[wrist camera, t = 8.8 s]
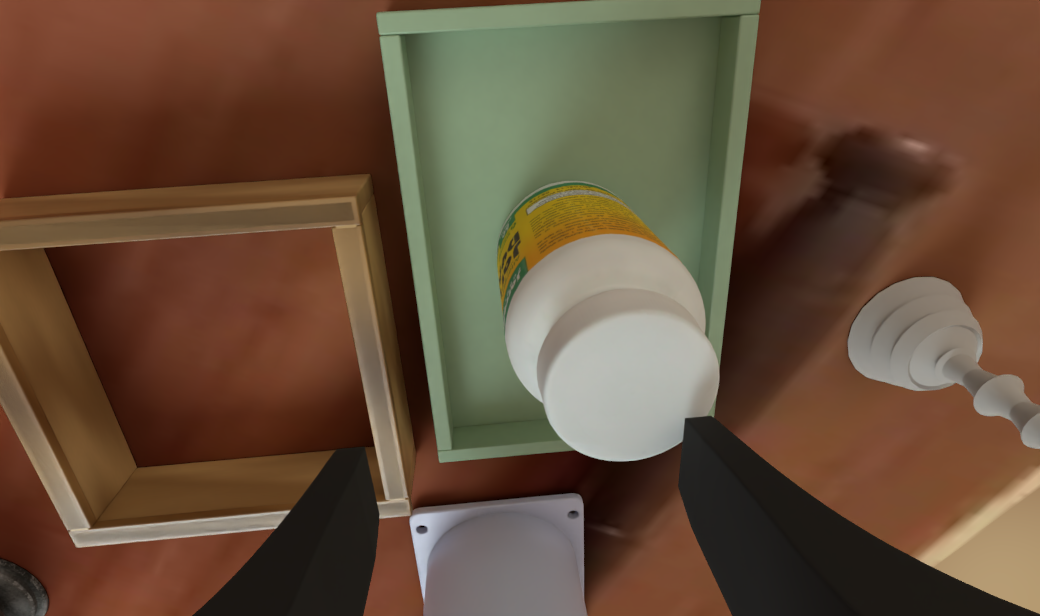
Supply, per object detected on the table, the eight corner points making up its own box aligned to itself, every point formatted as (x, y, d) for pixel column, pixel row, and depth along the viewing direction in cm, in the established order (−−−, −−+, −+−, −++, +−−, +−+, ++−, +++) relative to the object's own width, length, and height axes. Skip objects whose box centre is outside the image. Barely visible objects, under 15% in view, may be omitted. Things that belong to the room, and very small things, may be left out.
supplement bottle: (641, 303, 23) (746, 471, 14) (505, 323, 23) (527, 503, 14) (636, 165, 20) (759, 265, 12) (484, 187, 20) (496, 303, 12)
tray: (695, 409, 26) (712, 437, 24) (441, 432, 25) (439, 463, 24) (735, -6, 19) (762, -10, 17) (384, 13, 18) (375, 12, 17)
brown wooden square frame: (419, 456, 26) (412, 516, 23) (125, 483, 25) (75, 548, 22) (373, 170, 20) (356, 195, 17) (-4, 195, 20) (-94, 227, 17)
